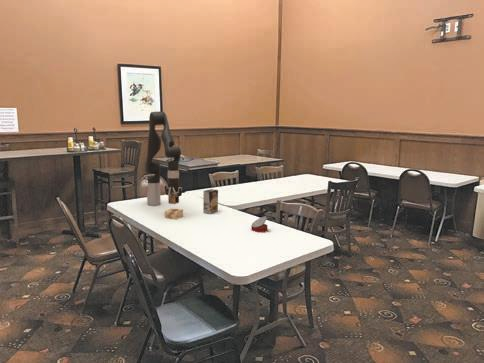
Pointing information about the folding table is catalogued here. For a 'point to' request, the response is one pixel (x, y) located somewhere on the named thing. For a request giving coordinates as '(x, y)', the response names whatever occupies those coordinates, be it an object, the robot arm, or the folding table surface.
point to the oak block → (174, 213)
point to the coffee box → (210, 201)
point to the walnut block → (172, 199)
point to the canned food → (259, 225)
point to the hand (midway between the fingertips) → (173, 201)
